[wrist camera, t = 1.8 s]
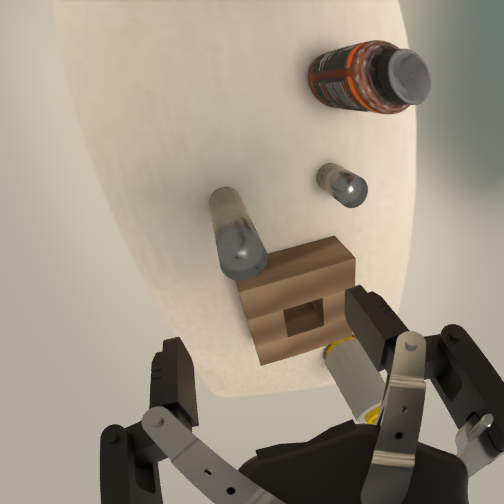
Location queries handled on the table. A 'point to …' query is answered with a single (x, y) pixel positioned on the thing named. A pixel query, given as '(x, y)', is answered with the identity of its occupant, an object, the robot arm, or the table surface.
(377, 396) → the soap bottle
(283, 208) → the table surface
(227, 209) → the tall pin
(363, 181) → the short pin
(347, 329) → the guide block
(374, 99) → the supplement bottle
